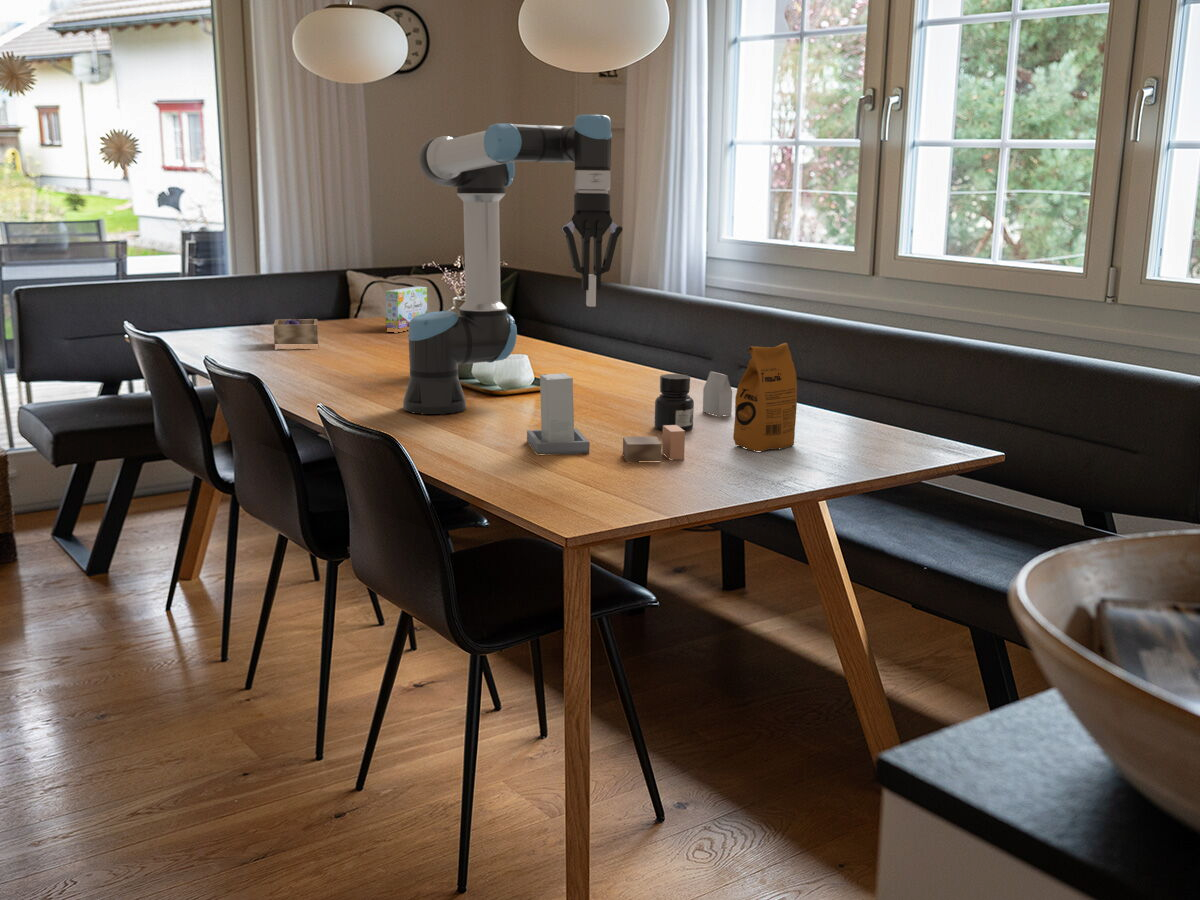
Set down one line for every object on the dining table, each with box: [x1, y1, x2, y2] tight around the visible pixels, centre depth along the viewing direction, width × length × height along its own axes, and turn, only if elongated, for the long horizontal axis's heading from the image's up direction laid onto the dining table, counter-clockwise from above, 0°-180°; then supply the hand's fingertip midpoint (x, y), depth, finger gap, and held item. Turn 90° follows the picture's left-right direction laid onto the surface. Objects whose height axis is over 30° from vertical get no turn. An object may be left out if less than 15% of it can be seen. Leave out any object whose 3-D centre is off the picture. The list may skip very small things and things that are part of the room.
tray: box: [526, 428, 590, 455], centre depth 251 cm, size 11×13×2 cm
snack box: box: [385, 285, 428, 329], centre depth 427 cm, size 21×6×15 cm, turn 159°
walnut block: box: [622, 436, 662, 463], centre depth 242 cm, size 7×7×4 cm
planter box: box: [273, 318, 319, 345], centre depth 385 cm, size 14×14×8 cm
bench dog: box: [661, 425, 686, 460], centre depth 244 cm, size 3×6×6 cm, turn 13°
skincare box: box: [539, 372, 575, 442], centre depth 249 cm, size 8×6×15 cm
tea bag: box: [702, 371, 733, 417], centre depth 287 cm, size 4×7×10 cm, turn 31°
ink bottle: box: [654, 373, 695, 431], centre depth 270 cm, size 10×9×12 cm
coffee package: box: [732, 342, 798, 452], centre depth 252 cm, size 10×12×22 cm
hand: (591, 305), depth 251 cm, fingers closed
